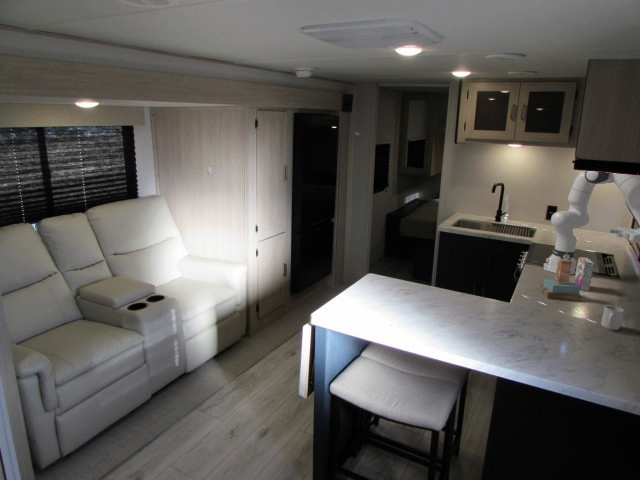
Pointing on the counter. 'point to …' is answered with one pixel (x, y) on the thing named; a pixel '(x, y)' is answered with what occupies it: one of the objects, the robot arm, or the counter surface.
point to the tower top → (561, 287)
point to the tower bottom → (560, 295)
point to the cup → (612, 317)
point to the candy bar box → (584, 273)
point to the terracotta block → (563, 271)
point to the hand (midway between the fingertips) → (613, 233)
